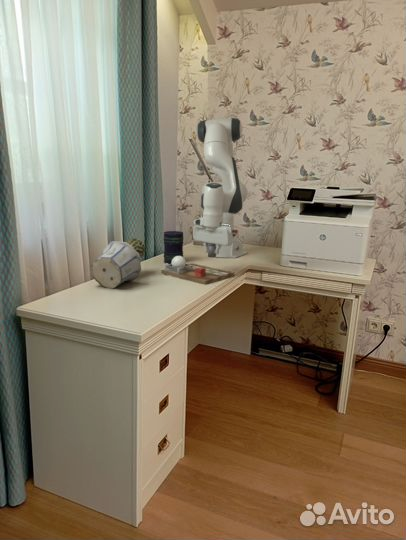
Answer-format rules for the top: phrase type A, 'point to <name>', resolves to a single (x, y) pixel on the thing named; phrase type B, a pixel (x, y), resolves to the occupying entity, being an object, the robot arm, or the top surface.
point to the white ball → (178, 262)
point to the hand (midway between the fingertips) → (212, 253)
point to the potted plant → (118, 263)
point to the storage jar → (172, 245)
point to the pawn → (211, 250)
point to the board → (201, 279)
